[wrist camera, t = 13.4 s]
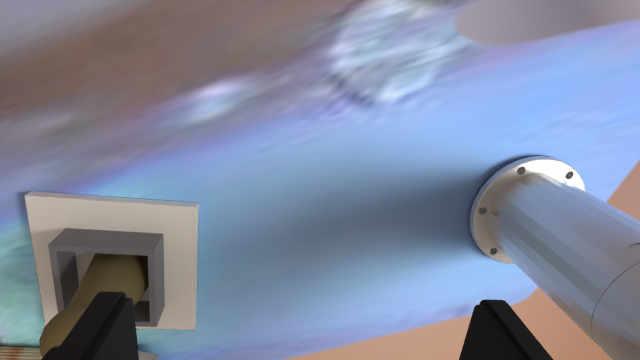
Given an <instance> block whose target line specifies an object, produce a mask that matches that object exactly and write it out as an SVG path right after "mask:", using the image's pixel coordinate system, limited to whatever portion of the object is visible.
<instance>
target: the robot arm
mask: <svg viewBox="0 0 640 360" xmlns="http://www.w3.org/2000/svg"><path fill="white" fill-rule="evenodd" d="M470 230H471V234H472V237H473V239H474V241H475V242H476V244H477V245H478V247H479V248H480V249H481V250H482V251H483V252H484V253H485V254H486V255H487V256H489V257H490V258H492V259H494V260H496V261H499V262H503V263H508V264H516V265H517V266H518V267H519V268H520V269H521V270H522V271H523V272H524V273H525V274H526V275H527V276H528V277H529V278H530V279H531V280H532V281H533V282H534V283H535V284H536V285H537V286H538V287H539V288H541V290H542V291H543V292H545V294H546V295H547V296H549V297H550V298H551V300H553V301H554V303H556V305H558V306H559V308H561V309H562V310H563V311H564V312H565V313H566V314H567V315H568V316H569V317H570V318H571V319H572V320H573V321H574V322H575V323H576V324H577V325H578V326H579V327H580V328H581V329H582V330H583V331H584V332H585V333H586V334H587V335H588V336H589V337H590V338H591V339H592V340H593V341H594V342H595V343H596V344H597V345H598V346H599V347H600V348H601V349H602V350H603V351H604V352H605V353H606V354H607V355H608V356H609V357H610V358H611V359H612V360H640V221H639V220H637V219H635V218H633V217H632V216H630V215H628V214H626V213H624V212H622V211H620V210H618V209H617V208H615V207H613V206H611V205H609V204H607V203H605V202H604V201H602V200H600V199H598V198H596V197H594V196H592V195H591V194H589V193H587V192H586V190H585V185H584V183H583V180H582V178H581V176H580V175H579V174H578V172H577V171H576V170H575V169H574V168H572V167H571V166H570V165H569V164H567V163H565V162H563V161H561V160H558V159H555V158H552V157H546V156H533V157H527V158H523V159H519V160H516V161H514V162H512V163H510V164H508V165H506V166H504V167H503V168H501V169H500V170H498V171H497V172H496V173H495V174H494V175H492V176H491V177H490V178H489V179H488V180H487V181H486V183H485V184H484V185H483V186H482V188H481V189H480V190H479V192H478V194H477V196H476V198H475V199H474V202H473V205H472V208H471V213H470ZM41 360H139V355H138V345H137V335H136V325H135V315H134V305H133V300H132V298H126V294H125V292H108V291H101V292H99V293H98V294H97V295H96V296H95V297H94V299H93V300H92V302H91V303H90V304H89V306H88V307H87V309H86V310H85V311H84V313H83V314H82V316H81V317H80V318H79V320H78V321H77V323H76V324H75V325H74V327H73V328H72V330H71V331H70V333H69V334H68V335H67V337H66V338H65V340H64V341H63V342H62V344H61V345H60V346H54V347H53V348H51V349H50V350H49V351H48V352H47V353H46V354H45V355H44V357H43V358H42V359H41ZM459 360H553V359H552V358H551V356H550V355H549V354H548V353H547V351H546V350H545V349H544V348H543V347H542V345H541V344H540V343H539V342H538V340H537V339H536V338H535V337H534V336H533V334H532V333H531V332H530V331H529V329H528V328H527V327H526V326H525V324H524V323H523V322H522V321H521V319H520V318H519V317H518V316H517V315H516V313H515V312H514V311H513V310H512V308H511V307H510V306H509V305H508V303H506V302H505V301H503V300H482V301H481V302H480V304H479V305H476V306H475V308H474V311H473V314H472V317H471V321H470V324H469V328H468V331H467V334H466V338H465V341H464V345H463V348H462V352H461V355H460V358H459Z"/></svg>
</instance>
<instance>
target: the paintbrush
mask: <svg viewBox="0 0 640 360" xmlns="http://www.w3.org/2000/svg"><path fill="white" fill-rule="evenodd" d="M138 355H139V360H157V354H152V353H148V352H143V351H138ZM42 358H43V357H42V355H41V353H40V348H28V347H8V346H0V360H41V359H42Z"/></svg>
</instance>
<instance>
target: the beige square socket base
mask: <svg viewBox="0 0 640 360" xmlns="http://www.w3.org/2000/svg"><path fill="white" fill-rule="evenodd" d="M25 202H26V208H27V214H28V220H29V226H30V232H31V239H32V245H33V251H34V257H35V263H36V270H37V276H38V282H39V288H40V294H41V301H42V307H43V313H44V319H45V325H47V323H48V322H49V321H50V320H51V319H52V318H53V317H54V316H55V315H56V314H58V313H59V312H60V311H62V310H64V309H66V308H68V306H69V304H70V302H71V300H72V298H73V296H74V294H75V292H76V290H77V288H78V286H79V284H80V282H81V281H82V279H83V277H84V275H85V273H86V271H87V269H88V267H89V265H90V263H91V261H92V259H93V257H94V255H95V253H103V254H123V255H143V256H148V279H149V287H148V288H147V290H146V291H145V292H144V294H143V295H142V296H141V298H140V299H139V300H138V302H137V303H136V304H135V306H134V315H135V325H136V329H174V330H195V327H196V320H197V267H198V213H199V203H192V202H178V201H164V200H150V199H136V198H122V197H108V196H94V195H80V194H66V193H52V192H38V191H30V192H29V193H27V194H26V195H25Z"/></svg>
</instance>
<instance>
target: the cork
mask: <svg viewBox="0 0 640 360" xmlns="http://www.w3.org/2000/svg"><path fill="white" fill-rule="evenodd" d="M148 287H149V279H148V256H143V255H123V254H103V253H95V255H94V257H93V259H92V261H91V263H90V265H89V267H88V269H87V271H86V273H85V275H84V277H83V279H82V281H81V282H80V284H79V286H78V288H77V290H76V292H75V294H74V296H73V298H72V300H71V302H70V304H69V306H68V308H66V309H64V310H62V311H60V312H59V313H58V314H56V315H55V316H54V317H53V318H52V319H51V320H50V321H49V322H48V323H47V325H46V326H45V328H44V330H43V332H42V335H41V337H40V353H41V355H42V357H44V355H45V354H46V353H47V352H48V351H49V350H50V349H51V348H53V347H54V346H60V345H61V344H62V342H63V341H64V340H65V338H66V337H67V335H68V334H69V333H70V331H71V330H72V328H73V327H74V325H75V324H76V323H77V321H78V320H79V318H80V317H81V316H82V314H83V313H84V311H85V310H86V309H87V307H88V306H89V304H90V303H91V302H92V300H93V299H94V297H95V296H96V295H97V294H98V293H99V292H101V291H108V292H125V294H126V298H132V300H133V305H134V306H135V304H136V303H137V302H138V300H139V299H140V298H141V296H142V295H143V294H144V292H145V291H146V290H147V288H148Z"/></svg>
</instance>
